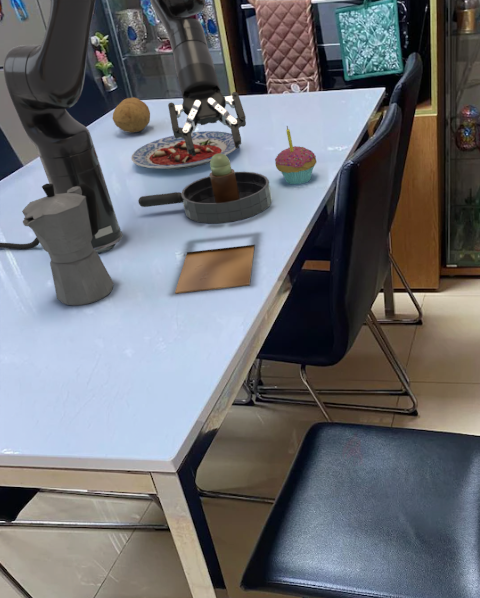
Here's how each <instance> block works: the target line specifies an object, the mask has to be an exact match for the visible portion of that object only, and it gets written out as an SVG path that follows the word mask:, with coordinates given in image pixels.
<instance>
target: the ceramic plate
mask: <svg viewBox="0 0 480 598" xmlns="http://www.w3.org/2000/svg"><path fill="white" fill-rule="evenodd" d="M191 137H192V141H193V145H194V149H195V153H196V156H192V153H190V154H189V153H188V151H187V147H186V143H185V140H184V138H182V137H179V138H175V137H174V135H170V136H165V137H162V138H159V139H156V140H153V141H150V142H148V143H146V144H144V145H142V146H140V147H139V148H137V149H136V150H135V151H134V152H133V153H132V154H131V157H130V158H131V161H132V163H134V164H135V165H136V166H138V167H142V168H148V169H157V170H158V169H159V170H161V169H164V170H185V169H190V168H191V169H192V168H195V167H199V166H203V165H206V164H208V163H209V164H210V160H211V158H212V157H213V156H214V155H215V154H218V153H221V154H224V155H226V156H227V155H230V154H231V153H233V152H234V151H235V150H236V149H237V148H235V144H234V141H233V137H232V133H231V132H227V131H218V130H216V131H215V130H213V131H212V130H210V131H209V130H208V131H207V130H205V131H204V130H203V131H193V133H192V135H191Z"/></svg>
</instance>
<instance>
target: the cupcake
mask: <svg viewBox="0 0 480 598" xmlns="http://www.w3.org/2000/svg"><path fill="white" fill-rule="evenodd" d="M286 136H287V140H288V146H289V147H288V148H285V149H282V150H281V151H280V152H279V153H278V154H277V155H276V157H275V158H274V163H275V168H276V169H277V170H278V171H279V172H280V173H281V174H282V176H283V178H284V180H285V182H286V183H287V184H289V185H301V184H305V183H308V182H309V181H310V180H311V178H312V174H313V169H314V167H315V166H316V164H317V158H316V155H315V153H314V152H313V151H312V150H310V149H308V148H306V147H304V146H297V145H293V140H292V135H291V130H290V129H289V126H288V125H286Z"/></svg>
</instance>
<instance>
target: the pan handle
mask: <svg viewBox="0 0 480 598" xmlns="http://www.w3.org/2000/svg"><path fill="white" fill-rule="evenodd" d="M181 193H182V191H177V192H169V193H160V194H159V193H158V194H151V195H142V196H140V197H139V198H138V205H140V207H142V208H148V207H149V208H150V207H157V206H165V205H176V204H183V201H182V197H181Z"/></svg>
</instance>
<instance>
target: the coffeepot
mask: <svg viewBox="0 0 480 598" xmlns="http://www.w3.org/2000/svg"><path fill="white" fill-rule="evenodd" d="M41 188H42V190H43V192H44V194H45V195H46V196H44V197H41V198H38V199H35V200H32V201H30V202H29V203H28V204H27V205H26V206H25V207H24V208H23V209H22V211H21V212H22V214H23V216H24V217H23V220H22V224H23V226H24V227H29V228H30V229H31V230H32V232H33V233H34V235H35V238H36V237H37V239H38V240H39V242H40V243H39V244H40V246H41V248H42V249H43V251H45V252H46V253H48V255H49V258H50V262H49V265H50V271H51V274H52V275H51V276H52V280H53V284H54V285H53V286H54V290H55V295H56V299H57V300H58V301H59V302H61V303H62V304H63V305H66V306H84V305H89V304H92V303H95V302H99V301H101V300H102V299H104V298H106V297H107V296H108V295H109V294H110V293H111V292H112V291H113V288H114V284H115V283H114V281H113V280H112V278H111V275H110V274H109V272H108V270H107V268H106V266H105V264H104V263H103V261H102V258H101V256H100V255H99V253H97V252H96V251H95V250H94V249H93V247H92V244H91V240H92V238H93V236H94V235H96V234H97V233H98V219H97V208H96V195H95V191H94V190H93V189H92V188H91V187H89V186H88V185H87V184H85V183H80V184H78V185H77V186H76V187H72V188H70V189H69V190H67V193H62V194H55V193H54V187H53V184H49V183H45V184H43V185H42V186H41ZM84 195H85V196H86V197H85V196H84ZM86 202H87V204H86ZM87 206H88V209H87ZM88 212H89V213H88ZM90 224H91V226H90Z"/></svg>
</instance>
